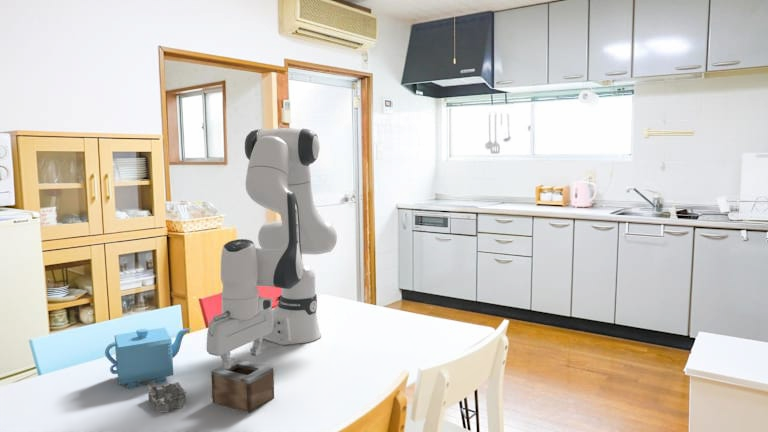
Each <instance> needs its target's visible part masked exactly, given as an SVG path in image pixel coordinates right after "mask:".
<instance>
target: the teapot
mask: <svg viewBox="0 0 768 432" xmlns="http://www.w3.org/2000/svg"><path fill="white" fill-rule="evenodd" d="M191 329H192V327H189V328H188V327H187V328H183V329H181V330H179V331H178V332H177V334H176V337H175V338H174V339H175V340H174V341H173V340H172V338H171V336H170V334H169V331H167V328H166V327H159V328H154V329H153V328H152V329H149V328H140V329H137V330H136V331H133V332H127V333H121V334H114V341H113V342H110V343H109V344H108V345H107V347H106V348H105V350H104V354H105V357H106V359H107V360H108V361H110V363H111V366H110V367H109V371H110V373H111V374H113V375H117V378H118V382H119V383H118V384H119V386H125V385H127V386H126V387H127V388H128V389H133V388H134V387H135V388H137V387H139V383H140V382H144V381H145V382H146V381H148V380H149V381H150V380H153V382H154V383H157V384H160V383H164V382H165V381H166V378H165V377H170V376H174V361H173V359H174V358H175V357H176V356H177V355H178V353H179V351H180V348H181V344H182V342H183V341H182V340H183V338H184V336H185V334H186V333H188V332H189V331H191ZM114 347H115V348H114ZM112 348H114V349H115V359H114V357H112V355H111V354H110V350H111V349H112ZM114 368H116V369H114Z"/></svg>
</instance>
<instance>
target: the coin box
mask: <svg viewBox="0 0 768 432" xmlns="http://www.w3.org/2000/svg"><path fill="white" fill-rule="evenodd" d="M233 362H234V363H233V365H234V366H233V367H232V368H230V369H226V368H224V364H223V365H221V366H219V367H217V368H215V369H212V370H211V373H210V374H211V375H210V376H211V396H212V400H211V401H212V402H211V403H215V404H217V405H220V406H225V407H227V408H231V409H235V410H239V411H242V412H245V413H249V414H250V413H253V412H254V411H255V410H257V409H258V408H260V407H261V406H264V405H265V404H267V403H268V402H271V401H272V400H273V399H275V377H274V376H275V375H274V372H275V371H274V366H273V367H272V366H268V365H264V364H260V363H256V362H251V361H246V360H243V359H239V358H237V359H234V360H233Z"/></svg>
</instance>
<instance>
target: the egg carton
mask: <svg viewBox="0 0 768 432" xmlns="http://www.w3.org/2000/svg"><path fill="white" fill-rule="evenodd" d="M147 387H148V390H149V392H148V394H147V396H148V402H149V403H152V406H153V407H155V408H156V411H157V412H158V413H159V412H162V413H167V412H170V410H171V409H174V408H175V409H181V408H183V407H184V406H185V405H187V396H186V394H187V392H186V390H185V389H184V387H182V385H181V384H180V382H178V381H175V382H173V383H168V384H166V385H165V384H162V385H161V387H160V388H158V387H157V385H150V384H147Z"/></svg>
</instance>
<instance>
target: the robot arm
mask: <svg viewBox="0 0 768 432" xmlns="http://www.w3.org/2000/svg"><path fill="white" fill-rule="evenodd" d="M319 152H320V142H319V138H318V135H317V134H316V132H315V131H313V130H312V129H307V128H301V129H300V128H292V127H291V128H290V127H280V128H269V129H262V128H260V129H255V130H251V131H250V132H249V133H248V134H247V135H246V137H245V139H244V153H245V157H246V159H248V164H247V170H246V176H245V190H246V193H247V195H248V196H249V198H250V199H251V200H252V201H253V202H254V203H256V204H257V205H259V206H260V207H262V208H265V209H268V210H270V211H272V212H275V213H277V214H278V215H280V219H281V220H274V221H269V222H266V223H264V224H263V225H262V226H260V229H259V231H258V234H257V241H258V244H259V247H261V248H259V247H256V244H255V242H254V241H252V240H251V239H247V238H245V239H243V238H241V239H234V240H230V241H228V242H226V243H225V244H223V247H222V250H221V255H220V256H221V257H220V258H221V259H220V281H221V283H222V289H221V290H222V292H221V296H220V297H221V313H220V314H217V315H214V316H213V317H212V319H210V321H209V322H208V328H207V333H206V335H207V336H206V352H207V353H208V354H209V355H211V356H215V357H220V359H221V360H222V362H223V365H224V368H226V369H230V368H232V367H233V366H234V365H233V363H234V362H233V361H234V360H233V359H231V357H230V355H231V351H232V352H233V350H236V349H238V348H240V347H243V346H245V345H247V344H250V343H251V342H253V344H252V347H250V349H249V350H250V355H251V356H253V357H256V356H258V355H260V348H261V346H262V342H263V340H266V341H269V342H271V343H275V344H278V345H281V346H285V345H287V346H288V345H291V344H305V343H310V342H313V341H317V340H318V339H320V337H321V336H322V334H321V331H320V327H319V321H318V315H317V309H318V306H317V305H318V296H317V293H316V273H315V271H314V270H313V269H312V267H311V266H309V265H308V264H305V263H303V256H302V255H314V256H315V255H323V254H329V253H331V252H332V251H333V250H334V248H335V246H336V244H337V241H338V234H337V232H336V231H337V230H336V229H335V227H334V226H333V224H331V223H330V222H329V221H327V220H326V219H325V218H324V217H323V216H322V215H321V214H320V213H319V211H318V209H317V208H316V205H315V202H314V198H313V197H314V196H313V191H312V190H313V188H312V179H311V178H312V176H311V170H310V169H311V168H310V165H312V164H314V163H315V161H317V160H318V157H319ZM258 287H269V288H270V287H272V288H273V287H274V288H280V289H281V294H280V295H279V296H276V297H275V298H274V300H273V299H271V298H268V297H263V296H260V295H259V294H260V292H259V289H258ZM273 301H274V302H278V303H277V305H276V306H275V307H274V308H273V304H274V302H273ZM272 308H273V309H272Z"/></svg>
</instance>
